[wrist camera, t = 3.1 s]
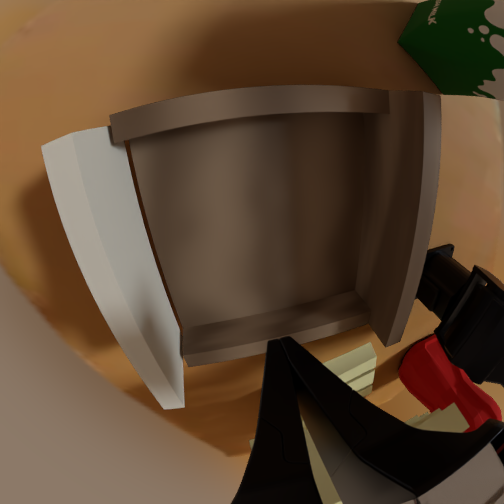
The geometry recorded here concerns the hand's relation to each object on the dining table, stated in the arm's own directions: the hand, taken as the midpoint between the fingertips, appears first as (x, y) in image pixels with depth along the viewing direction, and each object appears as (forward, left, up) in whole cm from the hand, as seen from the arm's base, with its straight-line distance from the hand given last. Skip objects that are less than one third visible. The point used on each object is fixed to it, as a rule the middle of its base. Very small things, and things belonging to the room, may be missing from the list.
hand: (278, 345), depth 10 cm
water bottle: (-26, +28, -12) cm, 40 cm away
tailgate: (+6, 0, -10) cm, 12 cm away
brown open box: (-2, 0, -12) cm, 12 cm away
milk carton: (-20, -15, -12) cm, 28 cm away
